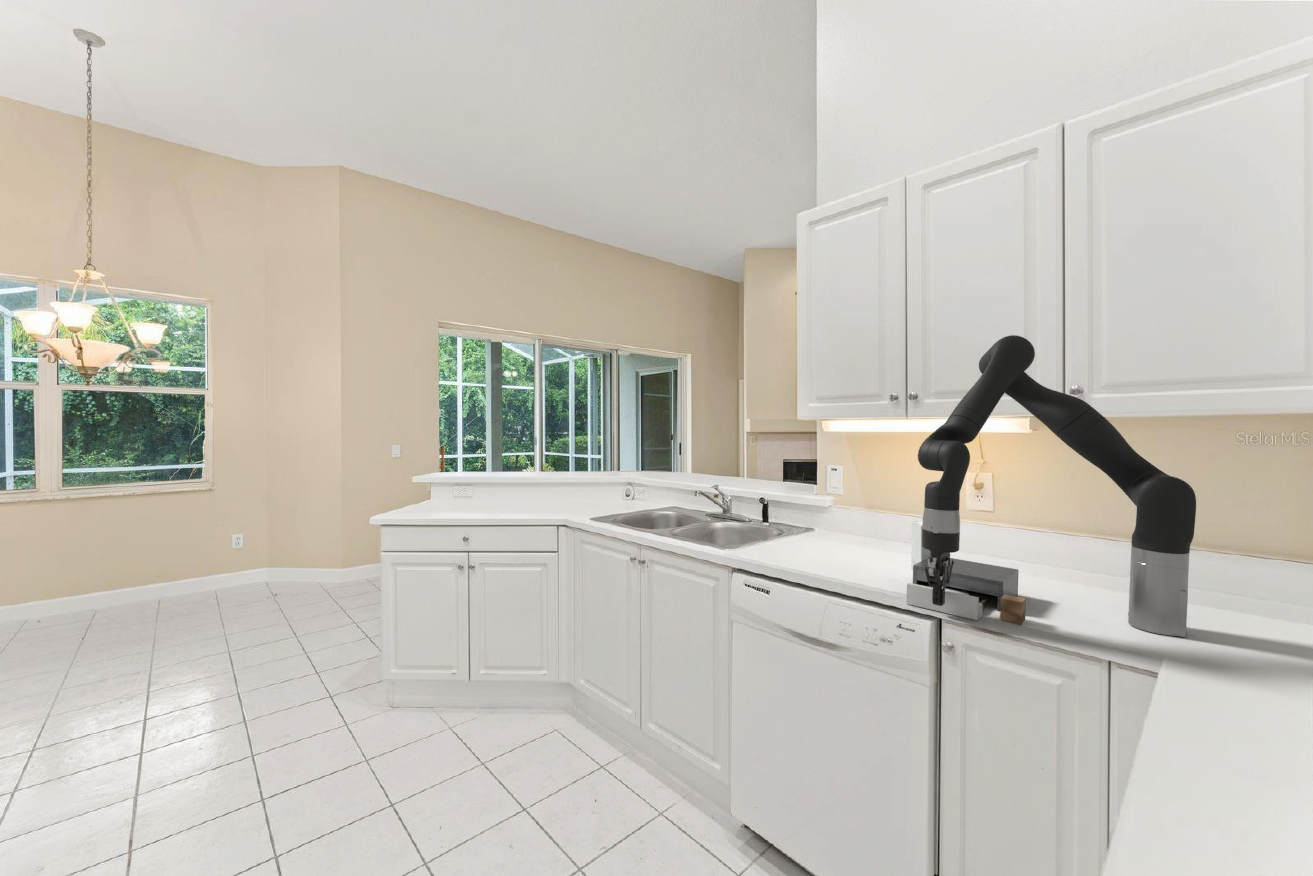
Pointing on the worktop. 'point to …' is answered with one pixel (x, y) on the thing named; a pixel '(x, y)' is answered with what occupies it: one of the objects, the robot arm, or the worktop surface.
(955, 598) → the tray
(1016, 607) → the wooden block
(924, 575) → the housing
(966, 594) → the white rounded flat dome
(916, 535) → the skincare box
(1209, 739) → the worktop surface
